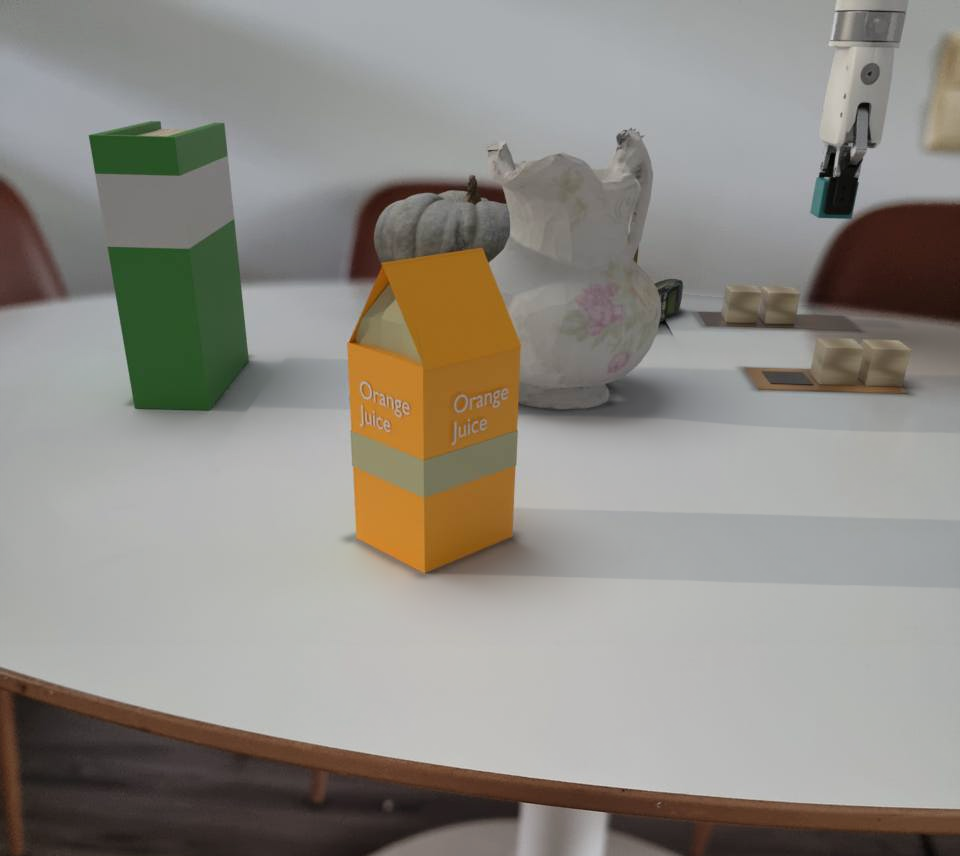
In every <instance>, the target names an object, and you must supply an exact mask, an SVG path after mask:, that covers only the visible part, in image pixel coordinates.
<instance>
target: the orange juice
mask: <svg viewBox="0 0 960 856" xmlns="http://www.w3.org/2000/svg"><path fill="white" fill-rule="evenodd" d="M381 264H382V266H381V268H380V270H379V272H378V275H377V277H376V280H375V281H374V284H373V286H372V288H371V291H370V293H369V295H368V297H367V300H366V301H365V305H364V306H363V309H362V311H361V313H360V315H359V318H358V320H357V323H356V325H355V326H354V329H353V332H352V334H351V336H350V338H349V341H347V342H346V347H347V348H346V349H347V351H346V352H347V368H348V369H347V370H348V371H347V372H348V373H347V374H348V390H349V413H350V414H349V415H350V449H351V450H350V451H351V466H352V476H353V495H354V496H353V497H354V514H355V515H354V516H355V537H356V539H358V540H359V541H361V542H363V543H366V544H367V545H369V546H371V547H373V548H375V549H377V550H378V551H381V552H382V553H385V554H387V555H389V556H390V557H392V558H395V559H396V560H398V561H400V562H402V563H404V564H406V565H408V566H410V567H412V568H414V569H415V570H418V571H420V572H422V573H423V574H426V573H430V572H431V571H434V570H435V569H438V568H441V567H443V566H445V565H448V564H451V563H452V562H455V561H457V560H460V559H462V558H465V557H467V556H469V555H472V554H475V553H476V552H479V551H481V550H483V549H486V548H489V547H491V546H493V545H496V544H498V543H501V542H503V541H506V540H509V539H511V538H512V537H513V535H514V534H513V533H514V532H513V531H514V510H515V509H514V508H515V489H516V488H515V485H516V467H517V461H518V460H517V457H518V438H519V437H518V436H519V435H518V434H519V430H518V419H519V418H518V416H519V403H518V398H519V375H520V353H521V347H522V346H521V343H520V341H519V338H518V336H517V333H516V331H515V328H514V326H513V323H512V321H511V318H510V316H509V313H508V311H507V308H506V306H505V303H504V301H503V298H502V296H501V293H500V291H499V288H498V286H497V283H496V281H495V278H494V276H493V273H492V271H491V268H490V266H489V263H488V261H487V258H486V256H485V253H484V251H483V248H477V249H470V250H463V251H457V252H450V253H444V254H437V255H430V256H424V257H417V258H410V259H404V260H397V261H391V262H384V263H380V265H381Z"/></svg>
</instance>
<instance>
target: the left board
mask: <svg viewBox="0 0 960 856" xmlns="http://www.w3.org/2000/svg"><path fill="white" fill-rule="evenodd" d="M800 298H801V292H799V291H798V290H797V289H795V287H793V286H772V285H763V286H762V291H761V290H760V288H758V287H757V286H756V285H738V284H737V285H736V284H726V285H725V287H724V294H723V301H722V308H721V311H720V312H719V311H696V314H697V315H698V316H699V318H700V319H701V321H702V322H703V323H704V326H705V327H715V328H716V327H721V328H753V329H756V328H757V329H787V330H789V329H790V330H819V331H820V330H823V331H826V330H828V331H856V332H857V331H860V329H859V328H858V327H856V326H855V325H854V324H853V323H852V322H851V321H849V320H848V319H847V318H845V316H843V315H827V314H825V315H824V314H798V308H799V303H800Z"/></svg>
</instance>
